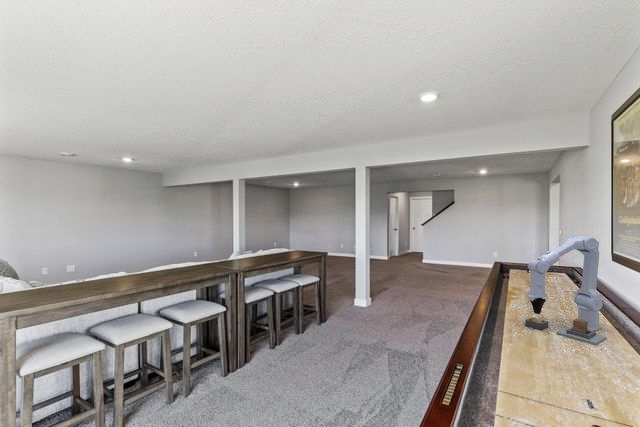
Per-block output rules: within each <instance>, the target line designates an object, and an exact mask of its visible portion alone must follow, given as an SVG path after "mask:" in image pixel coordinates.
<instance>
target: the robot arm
mask: <svg viewBox="0 0 640 427" xmlns="http://www.w3.org/2000/svg"><path fill="white" fill-rule="evenodd" d="M599 246H600V242H599V241H598V239H596V238H595V237H593V236H582V235H581V236H580V235H572V236H571V237H569V238H567V240H566V241H565V242H564V243H563V244H562V245H560V246H559V247H557V248H556V249H555V250H554V251H552V250H549V251H548V250H547V251H545V252H544V254H542V255H541V256H538V257H537V258H536V259H531V260H530V261H529V262H528V264H527V268H528V270H529V274H530V284H529V286H530V288H529V290H530V292H527V295H528V297H527V299H528V301H529V302H530V303H531V306H532V311H533V313H534V314H536V315H541V313H542V310H543V306H544V304H545V302H547V299H545V298H547V292H546V273H547V272H548V271H549V268H550V267H552V266H553V265H555V264H557V262H559V261H560V258H561V257H562V256H564V255H566V254H568V253H569V252H571V251H574V250H575V251H578V252H580V253H581V254H582V255H583V267H582V277H581V279H582V280H581V287H579V288H578V289H577V290H576V292H575V293H576V294H575V295H574V298H573V300H574V303H575V304H576V307H577V310H578V311H577V319H581V320H585V321H588V330H589V331H594V332H596V331H598V330H600V329H602V328H603V326H601V325H600V313H599V312H600V310H602V307H603V305H604V304H603V301H602V295H601V293H599V291H598V290H597V286H598V285H597V284H598V273H599V265H600V264H599V262H600V251H599Z"/></svg>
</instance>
